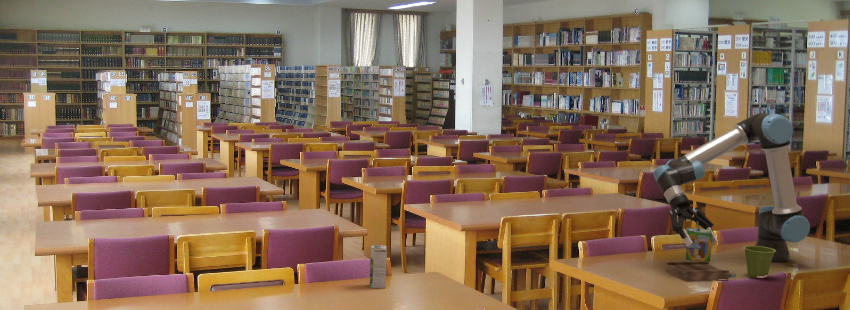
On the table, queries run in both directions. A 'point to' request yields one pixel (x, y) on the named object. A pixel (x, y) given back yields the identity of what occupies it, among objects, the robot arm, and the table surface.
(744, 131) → the robot arm
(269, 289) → the table surface
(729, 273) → the grey stepped bar
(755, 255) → the plant pot
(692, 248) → the chalk box
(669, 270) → the tray
